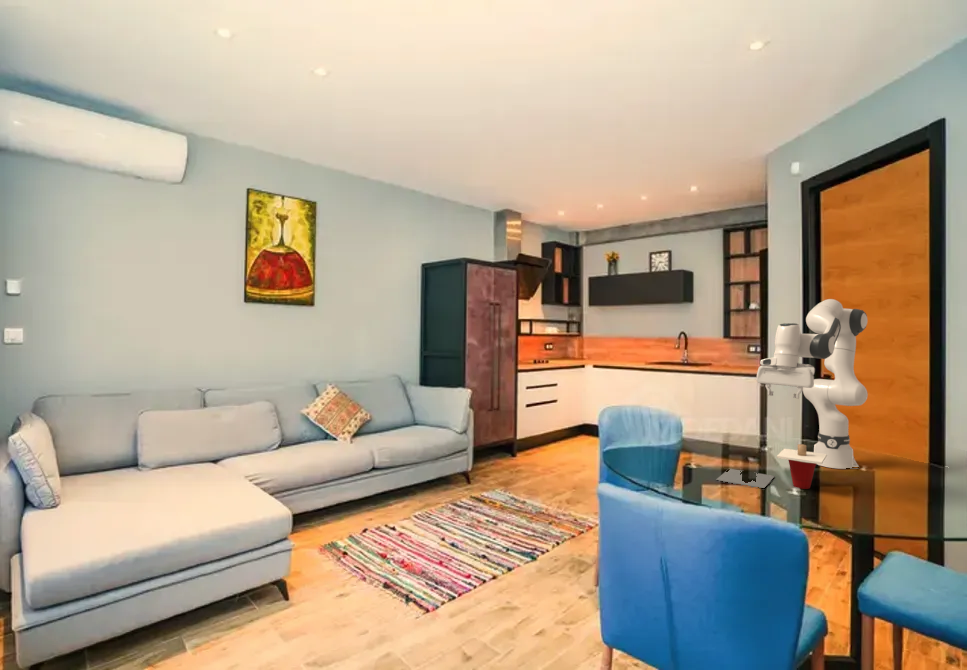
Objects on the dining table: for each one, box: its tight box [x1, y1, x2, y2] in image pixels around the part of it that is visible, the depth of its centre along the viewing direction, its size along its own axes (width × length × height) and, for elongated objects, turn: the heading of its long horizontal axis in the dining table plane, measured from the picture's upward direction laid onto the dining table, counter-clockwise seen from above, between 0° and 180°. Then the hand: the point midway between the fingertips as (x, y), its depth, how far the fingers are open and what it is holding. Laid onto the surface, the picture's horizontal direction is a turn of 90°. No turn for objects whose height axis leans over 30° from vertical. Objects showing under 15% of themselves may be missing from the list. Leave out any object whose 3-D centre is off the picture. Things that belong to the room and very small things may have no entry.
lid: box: [776, 443, 827, 465], centre depth 206 cm, size 15×15×5 cm
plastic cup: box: [787, 459, 817, 490], centre depth 206 cm, size 11×11×12 cm
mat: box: [715, 468, 776, 489], centre depth 217 cm, size 20×18×1 cm
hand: (783, 396), depth 207 cm, fingers open, 8 cm apart
